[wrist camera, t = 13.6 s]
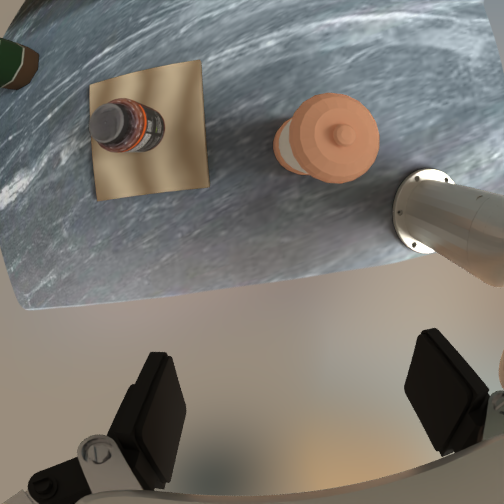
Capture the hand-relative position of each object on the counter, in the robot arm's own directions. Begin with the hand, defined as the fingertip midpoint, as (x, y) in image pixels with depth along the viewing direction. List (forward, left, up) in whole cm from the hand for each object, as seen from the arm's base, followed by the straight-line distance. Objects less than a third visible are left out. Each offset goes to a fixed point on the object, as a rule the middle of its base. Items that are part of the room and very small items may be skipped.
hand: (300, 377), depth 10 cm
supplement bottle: (+15, -13, -29) cm, 35 cm away
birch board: (+15, -13, -30) cm, 36 cm away
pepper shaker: (-5, -9, -31) cm, 32 cm away
